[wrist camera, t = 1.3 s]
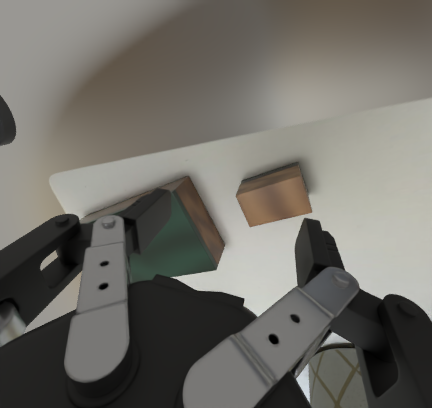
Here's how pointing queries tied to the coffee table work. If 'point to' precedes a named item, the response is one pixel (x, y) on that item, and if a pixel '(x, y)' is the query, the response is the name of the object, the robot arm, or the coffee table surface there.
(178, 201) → the chalkboard
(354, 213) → the coffee table surface
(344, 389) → the planter
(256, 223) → the eraser
